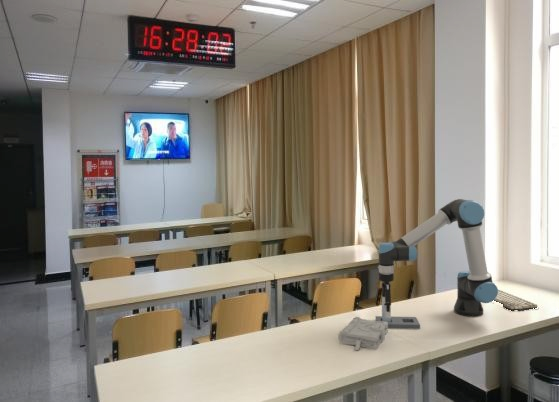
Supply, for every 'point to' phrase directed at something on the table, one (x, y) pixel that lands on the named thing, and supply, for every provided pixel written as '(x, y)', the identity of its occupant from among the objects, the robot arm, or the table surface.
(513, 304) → the mechanical keyboard
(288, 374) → the table surface
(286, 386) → the table surface
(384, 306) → the plug
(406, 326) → the jack panel
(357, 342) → the grey lumpy block
